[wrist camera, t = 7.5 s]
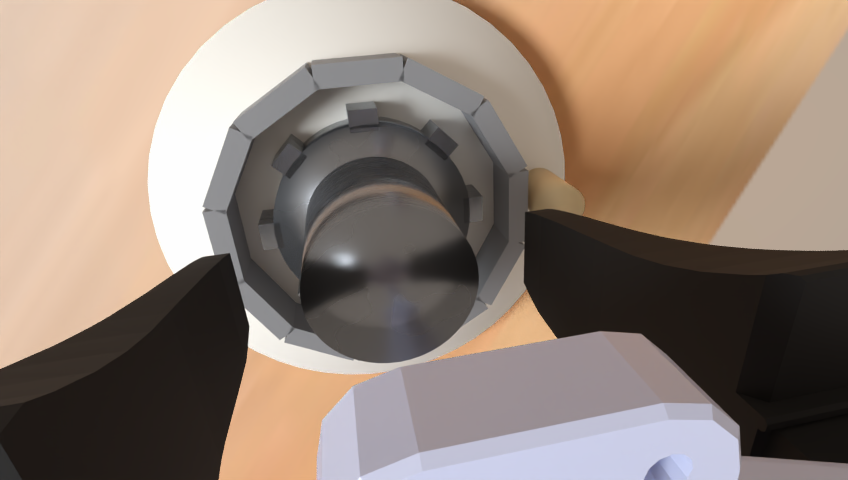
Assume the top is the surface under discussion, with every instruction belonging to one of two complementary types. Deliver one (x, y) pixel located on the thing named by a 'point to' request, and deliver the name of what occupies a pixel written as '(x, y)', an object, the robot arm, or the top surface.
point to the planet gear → (376, 234)
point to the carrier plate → (325, 104)
